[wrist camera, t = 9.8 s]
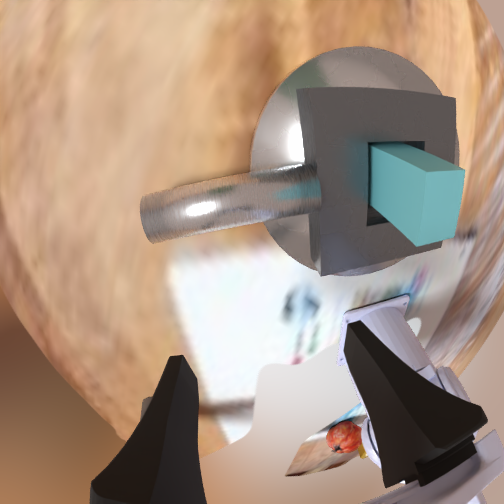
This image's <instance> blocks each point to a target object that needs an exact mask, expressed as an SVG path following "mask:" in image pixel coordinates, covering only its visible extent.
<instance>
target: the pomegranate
mask: <svg viewBox="0 0 504 504" xmlns="http://www.w3.org/2000/svg"><path fill="white" fill-rule="evenodd" d="M361 430H362V429H361V427H359V426H357V425H355V424H354V423H352V422H351V421H344V422H340V423H339V424H337V425H336V426H334V427H332V428H331V429H330V430H329V431H328V433H327V436H326V441H327V444H328V445H329V447H331V448H332V449H333V450H332V452H337V453H344V452H345V453H350V452H353V451H355V450H357V449H358V447H359V446H360V445H361V444H362V438H361Z"/></svg>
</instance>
